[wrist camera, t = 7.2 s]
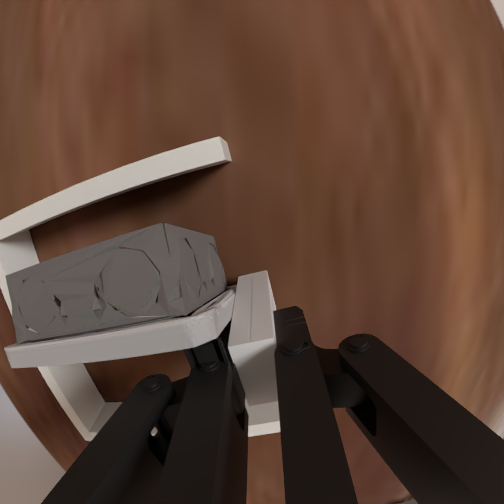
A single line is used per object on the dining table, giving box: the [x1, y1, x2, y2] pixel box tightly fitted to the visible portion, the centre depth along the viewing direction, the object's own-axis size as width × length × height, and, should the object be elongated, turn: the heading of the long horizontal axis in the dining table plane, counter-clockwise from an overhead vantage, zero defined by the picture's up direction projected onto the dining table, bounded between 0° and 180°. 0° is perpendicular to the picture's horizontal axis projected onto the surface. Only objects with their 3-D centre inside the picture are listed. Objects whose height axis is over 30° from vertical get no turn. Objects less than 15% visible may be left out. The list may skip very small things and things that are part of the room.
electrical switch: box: [4, 223, 237, 368], centre depth 13 cm, size 9×5×9 cm, turn 105°
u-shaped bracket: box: [0, 136, 280, 441], centre depth 16 cm, size 16×15×4 cm
